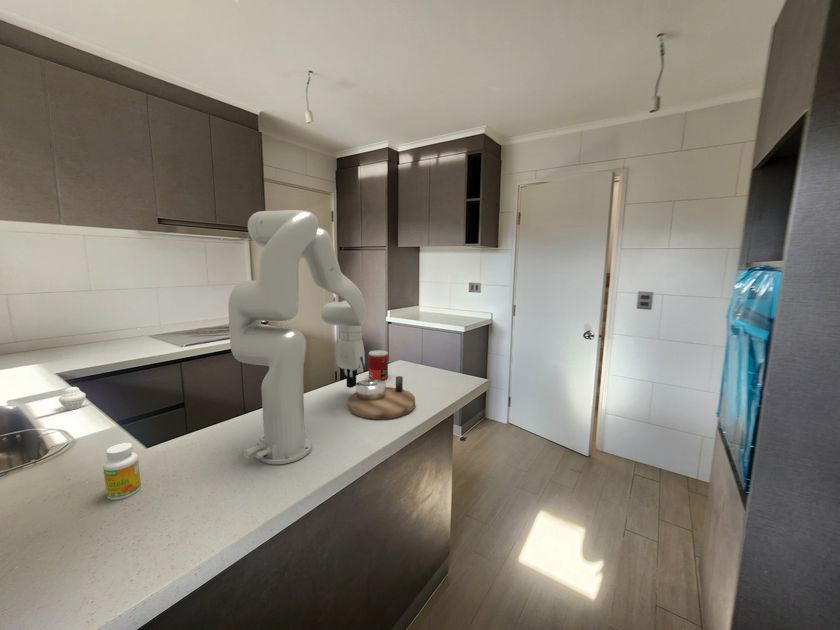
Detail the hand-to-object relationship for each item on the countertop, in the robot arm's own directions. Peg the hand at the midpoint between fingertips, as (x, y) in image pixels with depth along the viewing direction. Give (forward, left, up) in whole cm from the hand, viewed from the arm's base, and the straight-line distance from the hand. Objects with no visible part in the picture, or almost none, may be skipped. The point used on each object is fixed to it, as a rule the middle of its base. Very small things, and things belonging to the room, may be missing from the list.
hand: (351, 386), depth 125 cm
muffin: (-61, +61, -4) cm, 87 cm away
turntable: (0, -14, -4) cm, 15 cm away
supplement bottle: (-65, -2, -4) cm, 65 cm away
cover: (0, -9, -1) cm, 10 cm away
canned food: (+20, +6, -4) cm, 21 cm away
